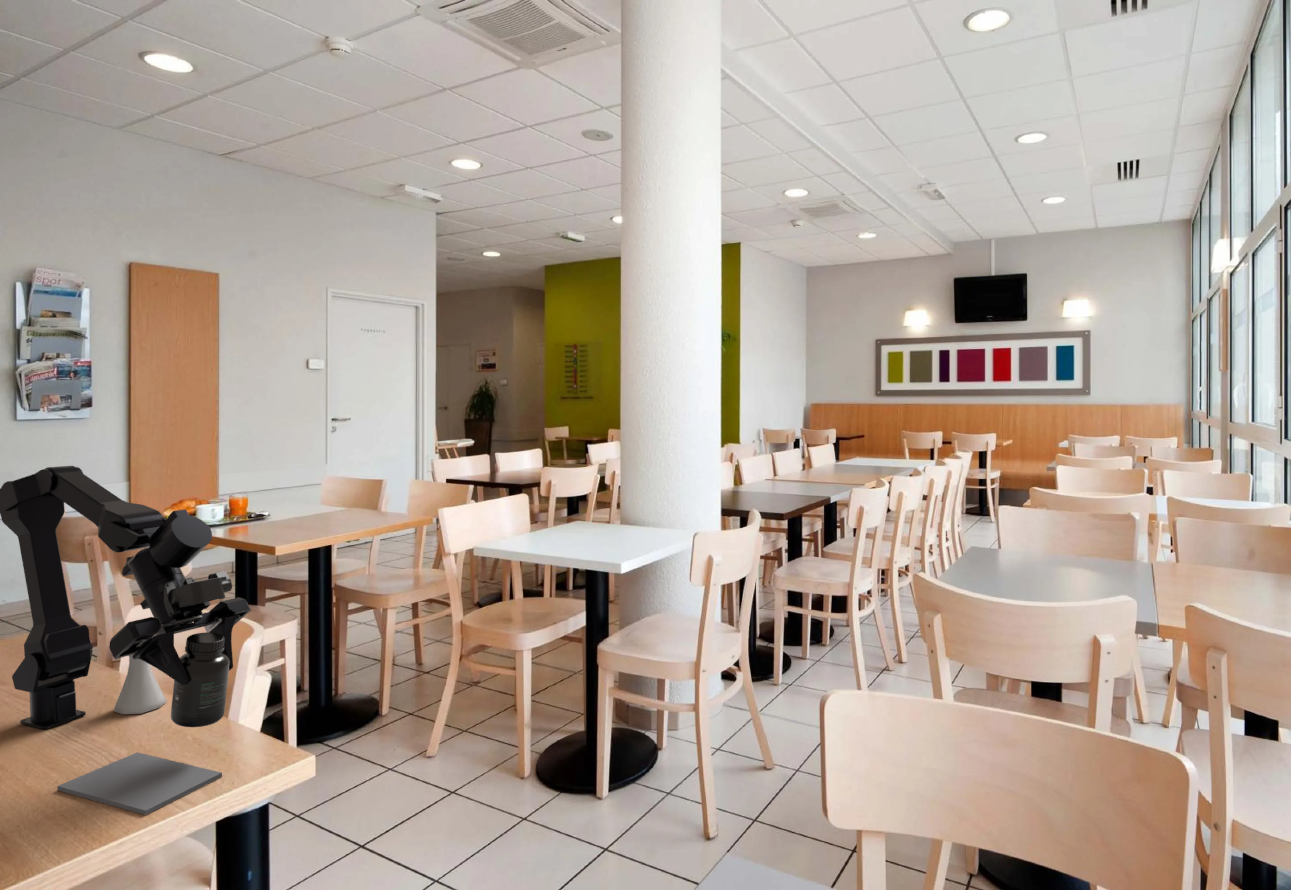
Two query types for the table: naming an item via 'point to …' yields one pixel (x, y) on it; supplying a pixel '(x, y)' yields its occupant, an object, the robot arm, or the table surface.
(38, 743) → the table surface
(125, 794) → the placemat
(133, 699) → the flask
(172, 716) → the supplement bottle
